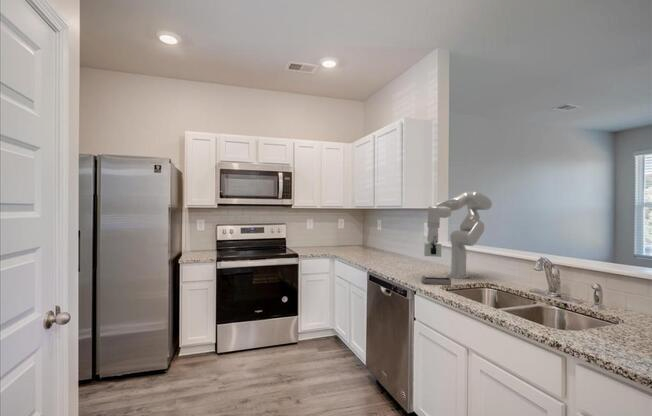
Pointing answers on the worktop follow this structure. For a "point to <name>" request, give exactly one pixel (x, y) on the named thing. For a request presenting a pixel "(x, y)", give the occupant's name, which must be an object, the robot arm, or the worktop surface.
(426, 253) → the door panel
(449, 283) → the door track
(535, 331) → the worktop surface
